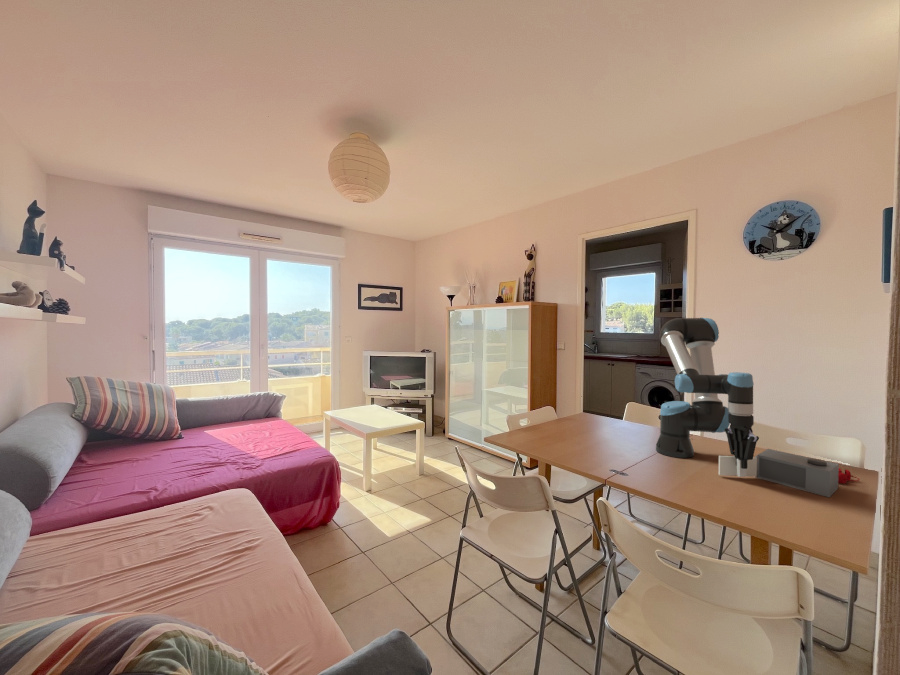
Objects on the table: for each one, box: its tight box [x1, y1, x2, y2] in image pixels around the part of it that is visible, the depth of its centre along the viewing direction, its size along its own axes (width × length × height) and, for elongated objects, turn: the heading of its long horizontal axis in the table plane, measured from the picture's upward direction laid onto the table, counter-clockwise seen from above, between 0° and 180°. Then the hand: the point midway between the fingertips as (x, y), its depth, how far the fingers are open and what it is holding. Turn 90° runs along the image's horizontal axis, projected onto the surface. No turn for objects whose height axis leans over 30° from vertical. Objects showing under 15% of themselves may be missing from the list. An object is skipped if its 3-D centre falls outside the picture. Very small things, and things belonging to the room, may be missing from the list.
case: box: [756, 448, 840, 498], centre depth 139 cm, size 20×12×10 cm, turn 34°
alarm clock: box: [838, 467, 861, 485], centre depth 144 cm, size 10×6×15 cm
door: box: [718, 454, 759, 479], centre depth 145 cm, size 14×2×8 cm, turn 83°
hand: (741, 476), depth 141 cm, fingers closed
